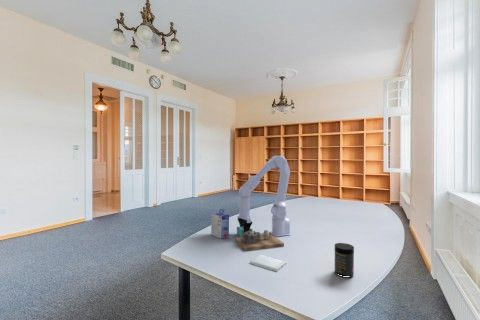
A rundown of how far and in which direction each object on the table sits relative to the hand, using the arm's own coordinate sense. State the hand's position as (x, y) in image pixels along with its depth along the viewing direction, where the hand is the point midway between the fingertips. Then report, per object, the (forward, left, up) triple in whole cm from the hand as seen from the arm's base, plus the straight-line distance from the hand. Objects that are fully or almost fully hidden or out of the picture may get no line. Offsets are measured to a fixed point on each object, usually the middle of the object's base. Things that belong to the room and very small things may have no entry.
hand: (244, 232), depth 134 cm
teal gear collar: (0, 0, -1) cm, 1 cm away
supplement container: (-21, +52, -2) cm, 57 cm away
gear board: (-3, +13, -2) cm, 14 cm away
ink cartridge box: (+13, -4, -2) cm, 14 cm away
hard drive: (+2, +36, -2) cm, 36 cm away
